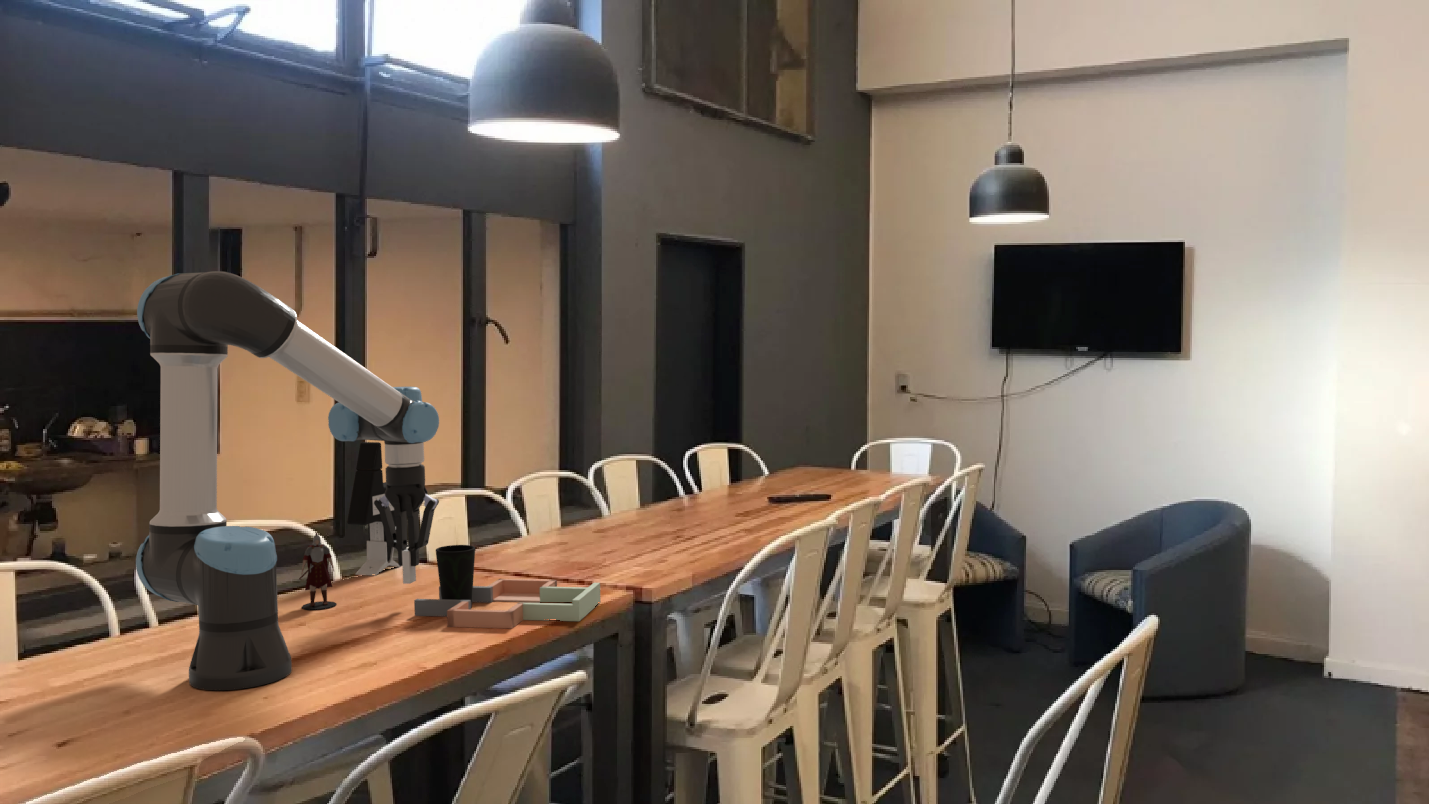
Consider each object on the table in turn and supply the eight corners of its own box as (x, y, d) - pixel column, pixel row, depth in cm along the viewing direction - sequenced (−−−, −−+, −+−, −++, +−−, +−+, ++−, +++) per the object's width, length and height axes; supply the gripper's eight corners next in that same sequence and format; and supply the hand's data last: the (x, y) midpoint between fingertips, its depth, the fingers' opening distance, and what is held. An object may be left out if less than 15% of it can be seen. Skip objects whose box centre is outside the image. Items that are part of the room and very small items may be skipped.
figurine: (302, 611, 222) (299, 536, 221) (299, 604, 229) (297, 531, 228) (338, 608, 225) (335, 533, 224) (334, 600, 232) (332, 528, 231)
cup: (485, 606, 224) (483, 546, 224) (457, 614, 218) (455, 553, 217) (457, 602, 228) (455, 543, 228) (429, 610, 222) (427, 549, 221)
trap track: (398, 625, 211) (397, 604, 210) (455, 591, 238) (455, 573, 238) (569, 629, 205) (569, 608, 205) (608, 595, 232) (608, 576, 232)
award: (367, 578, 253) (362, 445, 251) (347, 576, 255) (343, 444, 253) (406, 564, 268) (402, 438, 266) (387, 563, 269) (383, 438, 267)
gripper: (443, 462, 226) (448, 578, 227) (382, 462, 228) (387, 577, 229) (428, 466, 218) (432, 586, 220) (365, 466, 221) (370, 585, 222)
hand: (409, 581), depth 225 cm, fingers closed
